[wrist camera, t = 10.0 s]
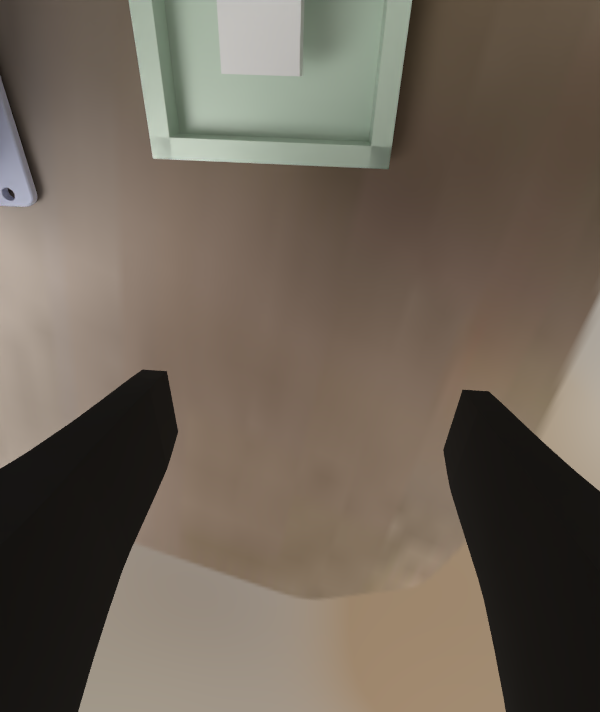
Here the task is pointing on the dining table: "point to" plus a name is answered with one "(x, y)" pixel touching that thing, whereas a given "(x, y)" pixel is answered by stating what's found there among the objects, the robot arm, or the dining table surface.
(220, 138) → the tray
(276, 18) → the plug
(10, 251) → the dining table surface
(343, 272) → the dining table surface
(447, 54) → the dining table surface
